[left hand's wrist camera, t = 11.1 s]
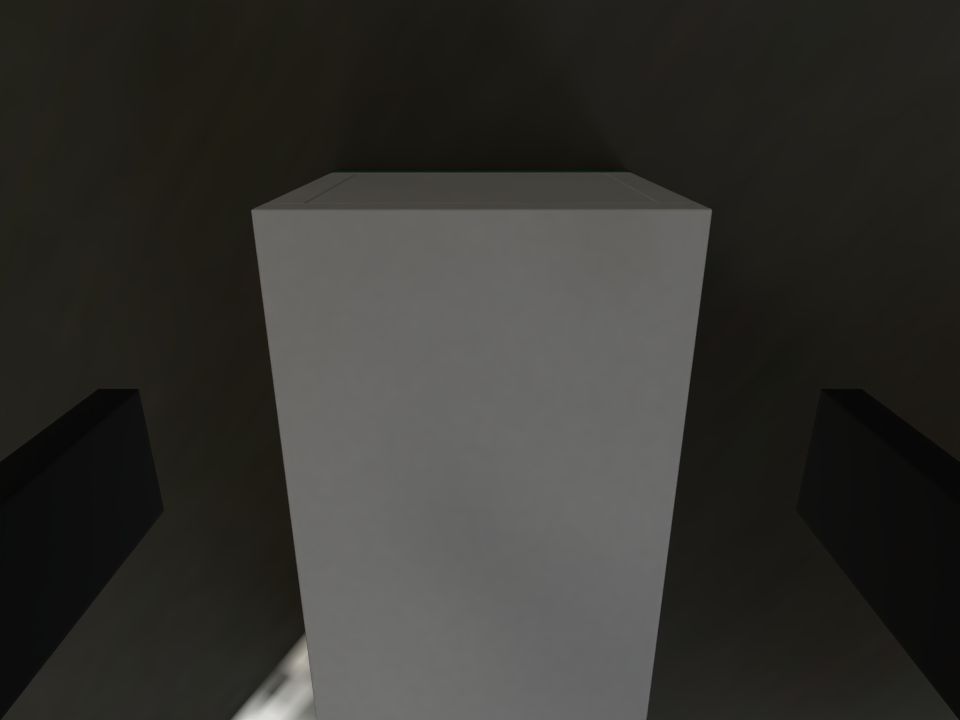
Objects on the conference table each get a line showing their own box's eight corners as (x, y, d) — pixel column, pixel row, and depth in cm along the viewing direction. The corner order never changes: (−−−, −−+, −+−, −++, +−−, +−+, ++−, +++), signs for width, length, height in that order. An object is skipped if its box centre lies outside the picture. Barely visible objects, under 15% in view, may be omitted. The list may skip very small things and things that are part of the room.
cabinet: (595, 564, 32) (642, 753, 23) (366, 565, 32) (320, 753, 23) (627, 169, 25) (713, 208, 16) (335, 170, 25) (249, 208, 16)
